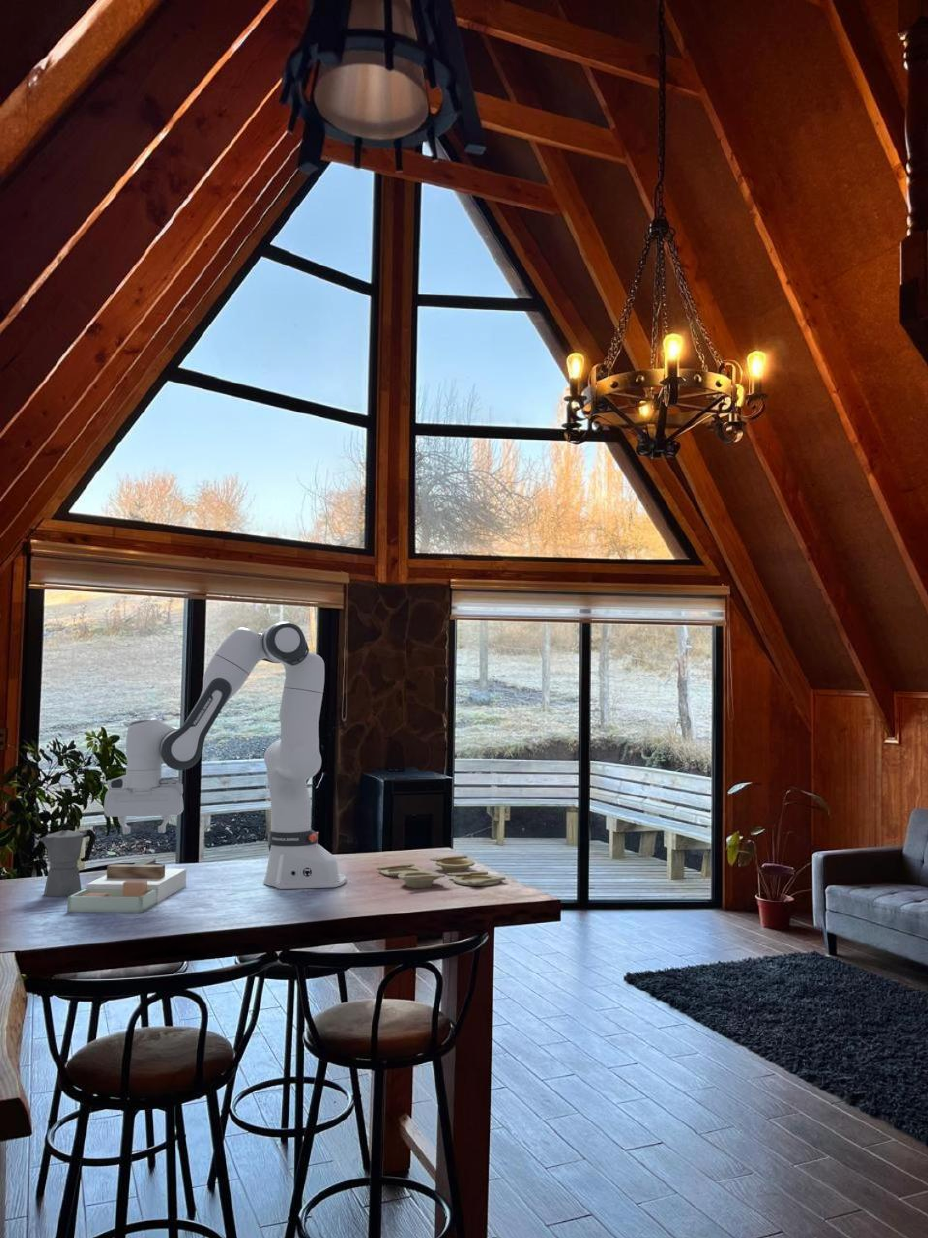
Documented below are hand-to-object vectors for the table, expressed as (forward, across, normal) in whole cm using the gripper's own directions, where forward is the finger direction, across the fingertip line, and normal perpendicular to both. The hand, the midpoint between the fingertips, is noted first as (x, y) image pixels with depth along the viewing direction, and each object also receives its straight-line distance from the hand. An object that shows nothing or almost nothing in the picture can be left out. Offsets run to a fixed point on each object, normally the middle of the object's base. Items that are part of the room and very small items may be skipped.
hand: (144, 833), depth 243 cm
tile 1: (+12, -3, +13) cm, 18 cm away
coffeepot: (+15, +20, +2) cm, 25 cm away
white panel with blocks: (+15, +1, +2) cm, 15 cm away
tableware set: (+18, -76, -23) cm, 81 cm away
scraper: (+11, +1, 0) cm, 11 cm away
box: (+15, +1, +18) cm, 23 cm away
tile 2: (+12, +5, +18) cm, 22 cm away
